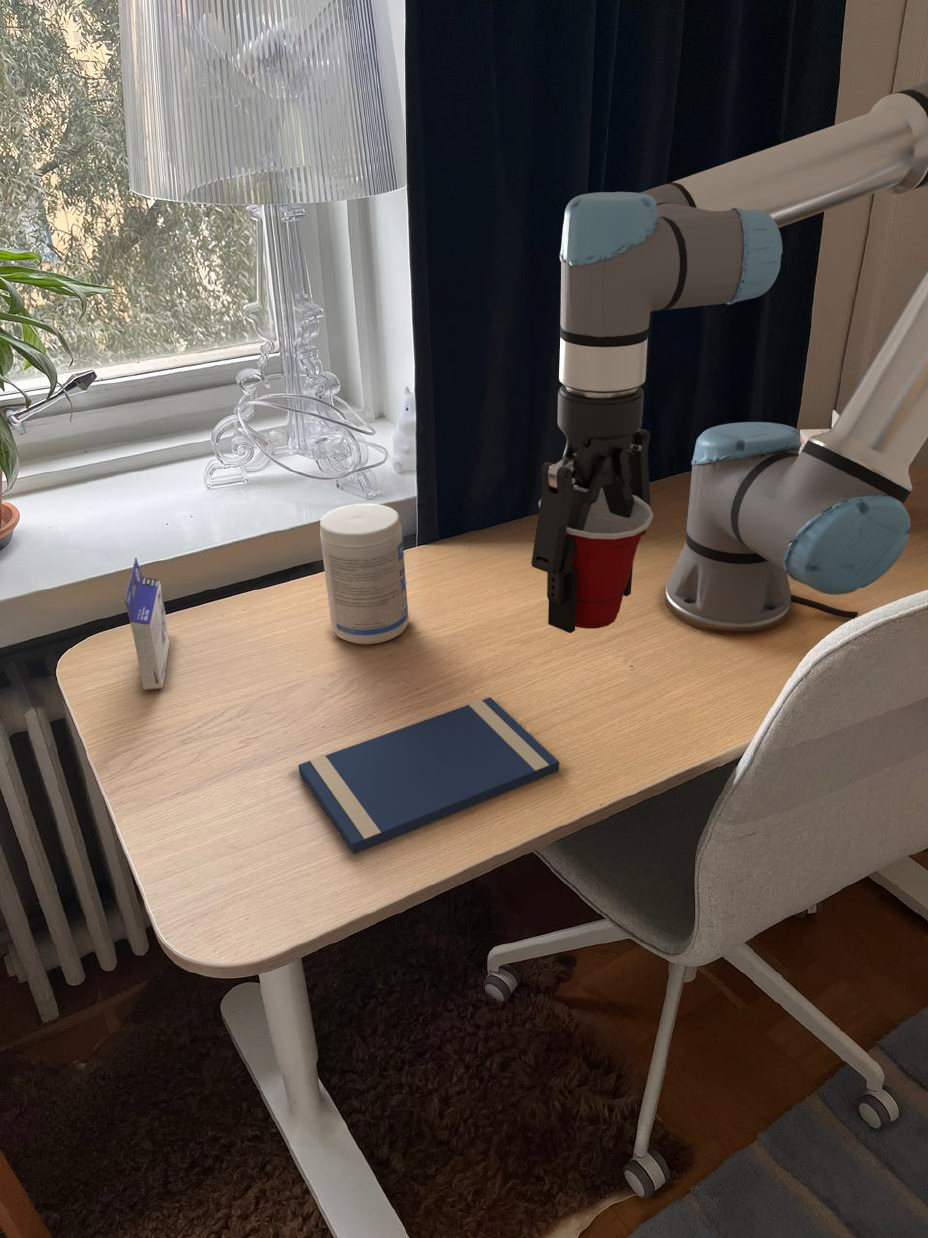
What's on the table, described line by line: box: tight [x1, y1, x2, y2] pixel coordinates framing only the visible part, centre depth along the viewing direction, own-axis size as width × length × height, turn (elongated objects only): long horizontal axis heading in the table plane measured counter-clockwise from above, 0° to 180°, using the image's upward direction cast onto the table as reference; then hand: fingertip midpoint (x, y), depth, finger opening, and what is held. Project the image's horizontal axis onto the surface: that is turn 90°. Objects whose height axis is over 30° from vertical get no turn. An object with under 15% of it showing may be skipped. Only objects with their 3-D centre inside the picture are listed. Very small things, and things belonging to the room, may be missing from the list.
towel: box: [297, 696, 560, 855], centre depth 94 cm, size 22×13×1 cm, turn 120°
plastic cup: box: [538, 484, 655, 630], centre depth 93 cm, size 11×11×12 cm
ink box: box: [124, 557, 170, 691], centre depth 110 cm, size 12×2×12 cm, turn 11°
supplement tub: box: [319, 503, 409, 645], centre depth 116 cm, size 10×10×15 cm
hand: (590, 608), depth 96 cm, fingers closed on plastic cup, 9 cm apart
